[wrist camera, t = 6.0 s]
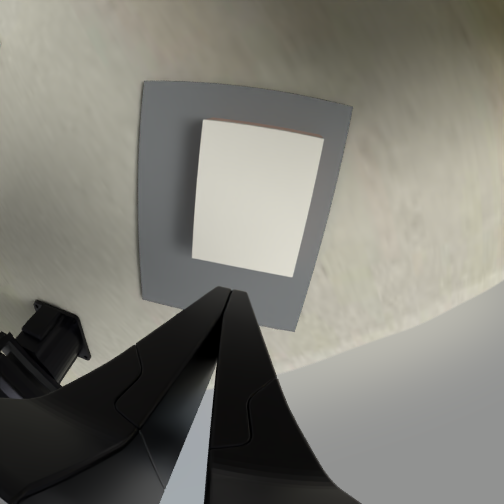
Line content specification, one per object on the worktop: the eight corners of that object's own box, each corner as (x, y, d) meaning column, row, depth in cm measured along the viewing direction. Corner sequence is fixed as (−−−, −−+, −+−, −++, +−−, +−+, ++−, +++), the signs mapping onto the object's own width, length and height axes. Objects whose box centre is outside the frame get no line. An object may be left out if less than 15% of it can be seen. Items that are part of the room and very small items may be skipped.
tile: (201, 242, 20) (292, 260, 19) (191, 257, 18) (292, 277, 18) (213, 117, 16) (320, 134, 15) (203, 119, 14) (324, 139, 14)
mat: (294, 328, 22) (294, 331, 22) (144, 296, 23) (142, 299, 23) (351, 106, 15) (352, 106, 14) (147, 81, 15) (144, 80, 15)
